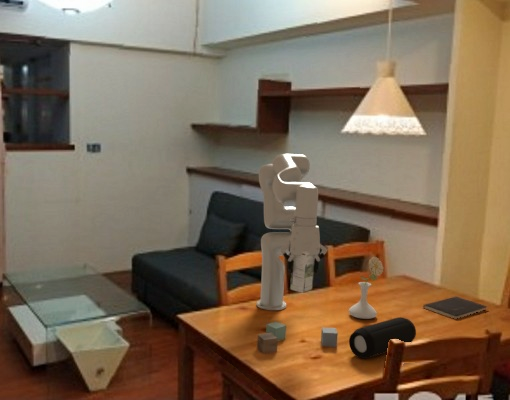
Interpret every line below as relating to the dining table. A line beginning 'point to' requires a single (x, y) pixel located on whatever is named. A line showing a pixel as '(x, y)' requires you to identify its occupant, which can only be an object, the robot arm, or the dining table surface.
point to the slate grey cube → (329, 337)
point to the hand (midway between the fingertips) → (302, 271)
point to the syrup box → (302, 272)
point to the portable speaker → (380, 336)
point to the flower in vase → (362, 306)
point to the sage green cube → (277, 330)
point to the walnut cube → (267, 343)
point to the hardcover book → (455, 307)
